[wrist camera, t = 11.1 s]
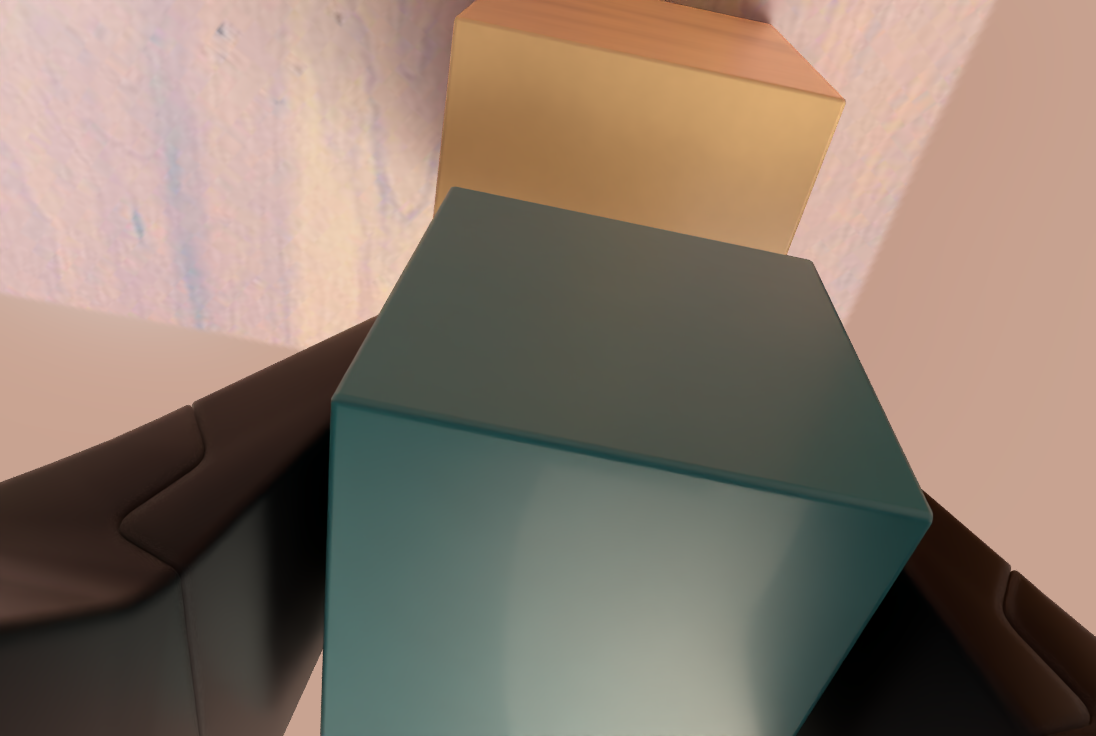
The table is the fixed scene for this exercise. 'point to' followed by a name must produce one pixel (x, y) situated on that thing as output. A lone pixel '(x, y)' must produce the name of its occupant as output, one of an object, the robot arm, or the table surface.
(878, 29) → the table surface
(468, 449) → the block
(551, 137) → the riser
